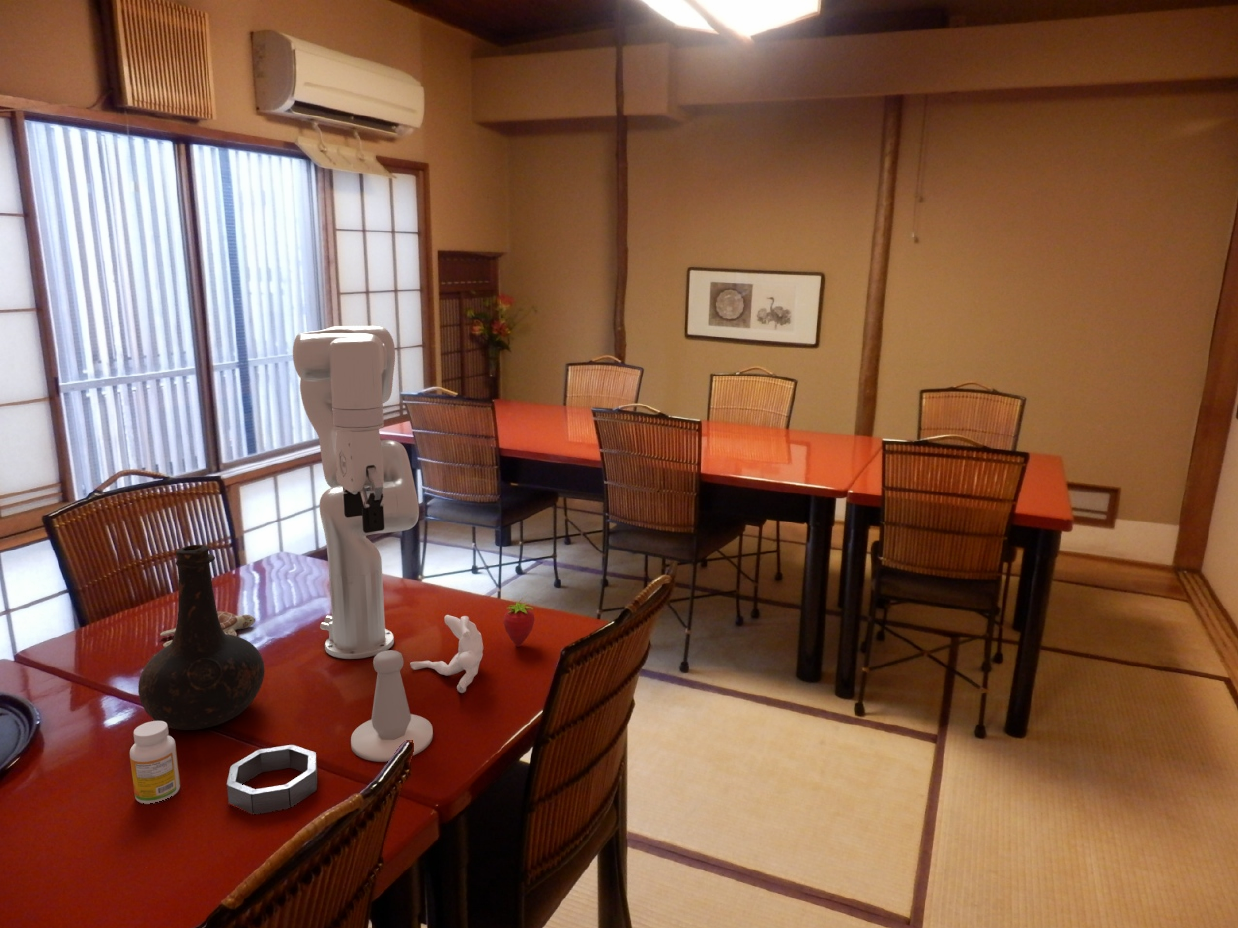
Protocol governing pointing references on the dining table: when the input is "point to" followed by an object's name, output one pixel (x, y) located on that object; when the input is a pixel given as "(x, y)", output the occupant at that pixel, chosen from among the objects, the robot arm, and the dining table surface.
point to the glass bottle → (200, 658)
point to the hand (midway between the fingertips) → (364, 523)
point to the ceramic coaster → (382, 750)
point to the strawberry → (518, 622)
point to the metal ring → (275, 795)
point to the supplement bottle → (154, 763)
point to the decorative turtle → (224, 624)
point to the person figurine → (460, 652)
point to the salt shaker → (390, 697)
